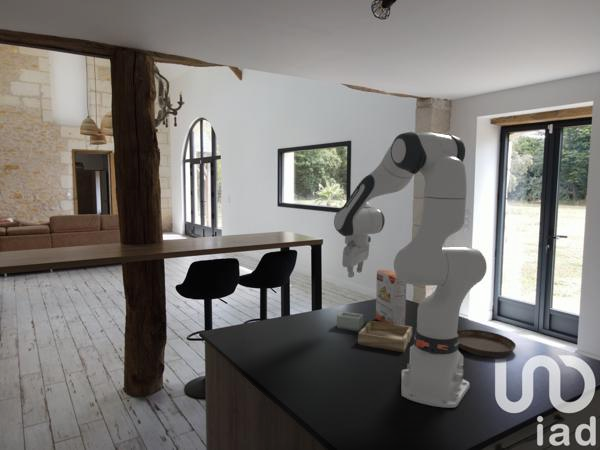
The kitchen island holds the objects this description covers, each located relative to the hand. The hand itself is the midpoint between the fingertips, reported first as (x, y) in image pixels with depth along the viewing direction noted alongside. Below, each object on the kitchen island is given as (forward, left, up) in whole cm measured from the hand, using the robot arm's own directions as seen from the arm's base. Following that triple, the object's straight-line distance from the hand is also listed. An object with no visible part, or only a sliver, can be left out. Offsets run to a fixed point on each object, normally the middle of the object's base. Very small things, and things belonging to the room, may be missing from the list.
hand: (355, 274), depth 164 cm
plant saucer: (+1, -47, -22) cm, 51 cm away
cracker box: (+12, -12, -22) cm, 27 cm away
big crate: (-8, -15, -21) cm, 27 cm away
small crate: (0, +1, -21) cm, 21 cm away
